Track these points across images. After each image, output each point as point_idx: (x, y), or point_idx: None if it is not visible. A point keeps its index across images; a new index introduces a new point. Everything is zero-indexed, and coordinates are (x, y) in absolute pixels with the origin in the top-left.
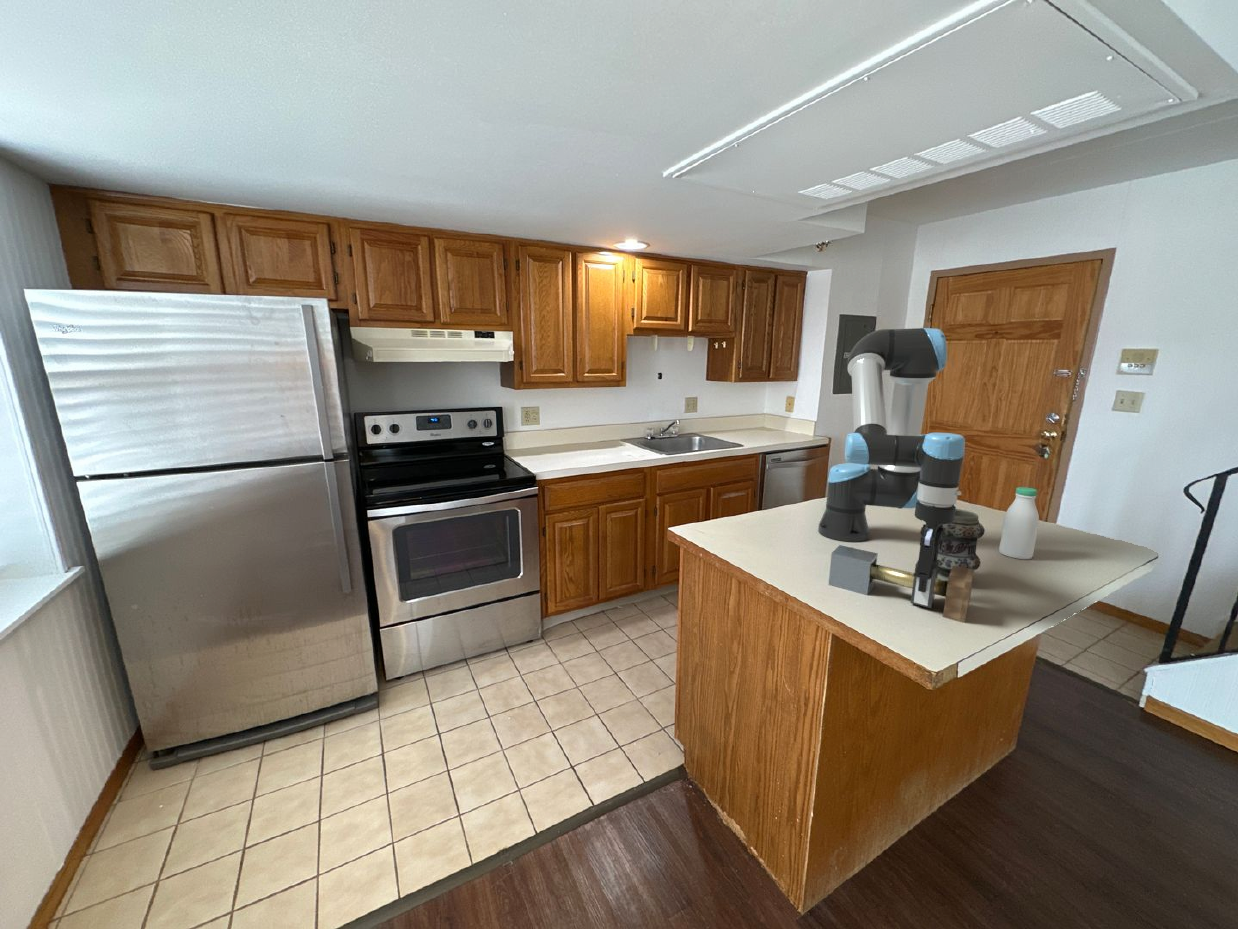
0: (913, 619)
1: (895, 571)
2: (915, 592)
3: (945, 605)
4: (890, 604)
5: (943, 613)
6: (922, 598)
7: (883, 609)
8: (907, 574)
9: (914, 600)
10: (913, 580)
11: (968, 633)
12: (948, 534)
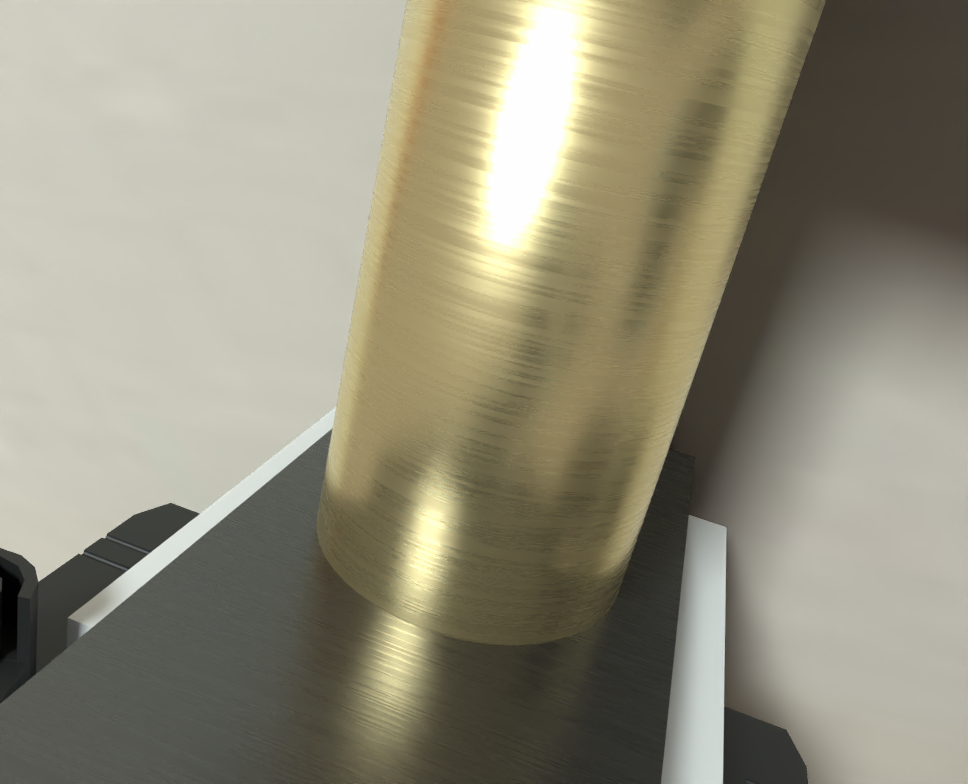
0: (84, 332)
1: (421, 195)
2: (269, 462)
3: None
4: (321, 110)
5: None
6: None
7: (134, 14)
8: (379, 454)
9: (330, 415)
10: (322, 515)
11: None
12: None
